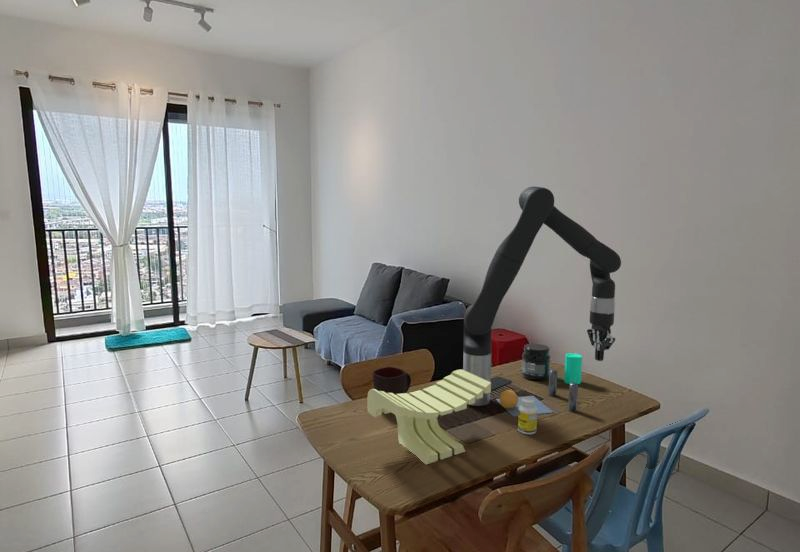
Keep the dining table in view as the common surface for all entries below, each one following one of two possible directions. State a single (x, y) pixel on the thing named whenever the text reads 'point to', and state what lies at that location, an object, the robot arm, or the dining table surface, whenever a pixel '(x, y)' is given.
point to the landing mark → (540, 406)
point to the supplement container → (536, 362)
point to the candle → (573, 368)
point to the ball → (508, 399)
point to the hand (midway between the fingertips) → (599, 360)
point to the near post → (573, 397)
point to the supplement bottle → (527, 416)
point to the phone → (498, 382)
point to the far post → (552, 382)
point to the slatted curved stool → (429, 413)
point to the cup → (391, 380)
